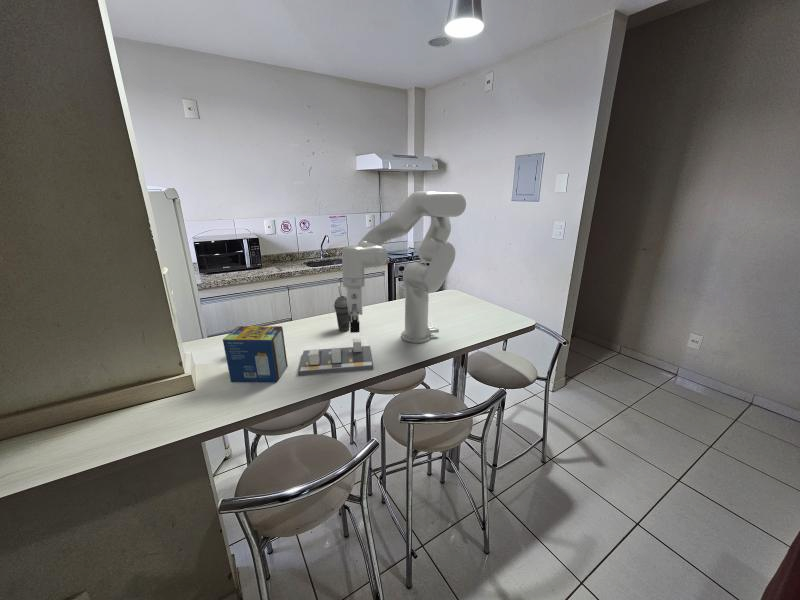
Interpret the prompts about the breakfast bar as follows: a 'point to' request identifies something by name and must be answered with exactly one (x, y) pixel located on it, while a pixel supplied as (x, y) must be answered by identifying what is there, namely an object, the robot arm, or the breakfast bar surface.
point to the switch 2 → (357, 345)
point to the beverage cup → (342, 313)
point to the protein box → (255, 354)
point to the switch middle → (336, 355)
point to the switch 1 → (314, 357)
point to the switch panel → (348, 363)
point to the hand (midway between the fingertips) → (354, 326)
